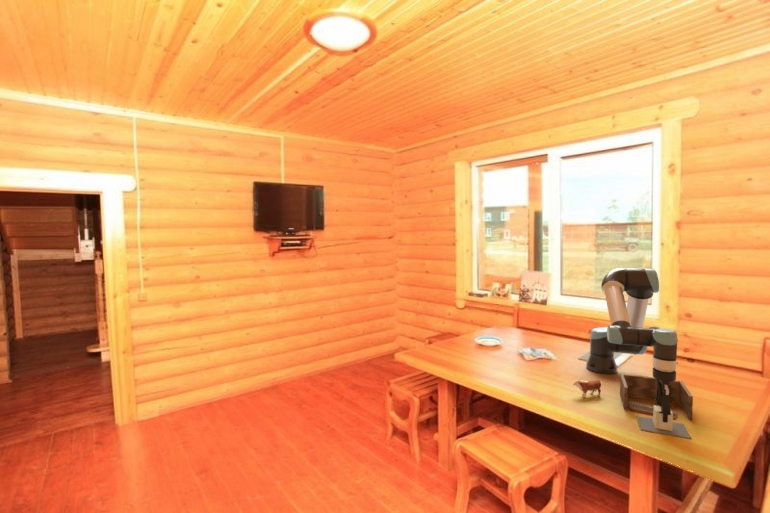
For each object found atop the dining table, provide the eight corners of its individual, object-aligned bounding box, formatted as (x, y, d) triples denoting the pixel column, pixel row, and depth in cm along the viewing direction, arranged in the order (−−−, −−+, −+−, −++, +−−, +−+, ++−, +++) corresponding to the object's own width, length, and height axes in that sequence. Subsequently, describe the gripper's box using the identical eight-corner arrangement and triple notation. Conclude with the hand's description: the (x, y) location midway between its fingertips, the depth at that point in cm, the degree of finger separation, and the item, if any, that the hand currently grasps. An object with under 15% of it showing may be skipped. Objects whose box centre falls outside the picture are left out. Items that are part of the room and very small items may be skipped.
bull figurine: (571, 394, 187) (571, 378, 186) (598, 393, 188) (598, 376, 187) (576, 398, 182) (577, 381, 182) (603, 397, 183) (604, 380, 183)
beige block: (655, 428, 154) (655, 411, 153) (652, 421, 159) (653, 405, 158) (672, 431, 151) (672, 413, 151) (669, 424, 156) (669, 407, 156)
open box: (624, 409, 171) (624, 387, 170) (619, 393, 187) (620, 373, 186) (692, 420, 160) (692, 396, 159) (681, 402, 176) (682, 381, 175)
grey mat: (641, 430, 153) (641, 429, 153) (636, 416, 164) (636, 416, 164) (691, 439, 146) (691, 438, 146) (683, 424, 157) (683, 423, 157)
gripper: (681, 378, 143) (679, 439, 145) (670, 362, 160) (669, 417, 161) (657, 375, 147) (655, 434, 148) (649, 360, 163) (647, 413, 165)
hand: (662, 425), depth 155 cm, fingers closed on beige block, 5 cm apart
